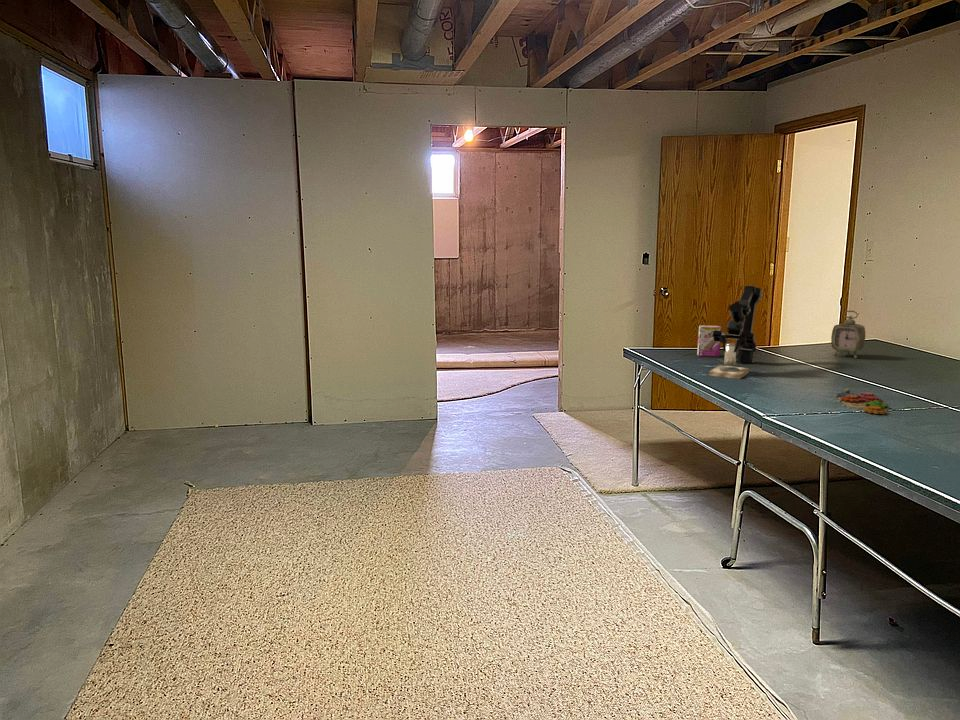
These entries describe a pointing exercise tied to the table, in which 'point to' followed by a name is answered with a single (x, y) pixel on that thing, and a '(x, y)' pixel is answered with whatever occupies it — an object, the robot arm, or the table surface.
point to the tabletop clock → (848, 336)
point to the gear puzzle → (862, 401)
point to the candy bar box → (708, 341)
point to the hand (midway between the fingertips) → (729, 351)
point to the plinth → (729, 372)
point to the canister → (730, 354)
